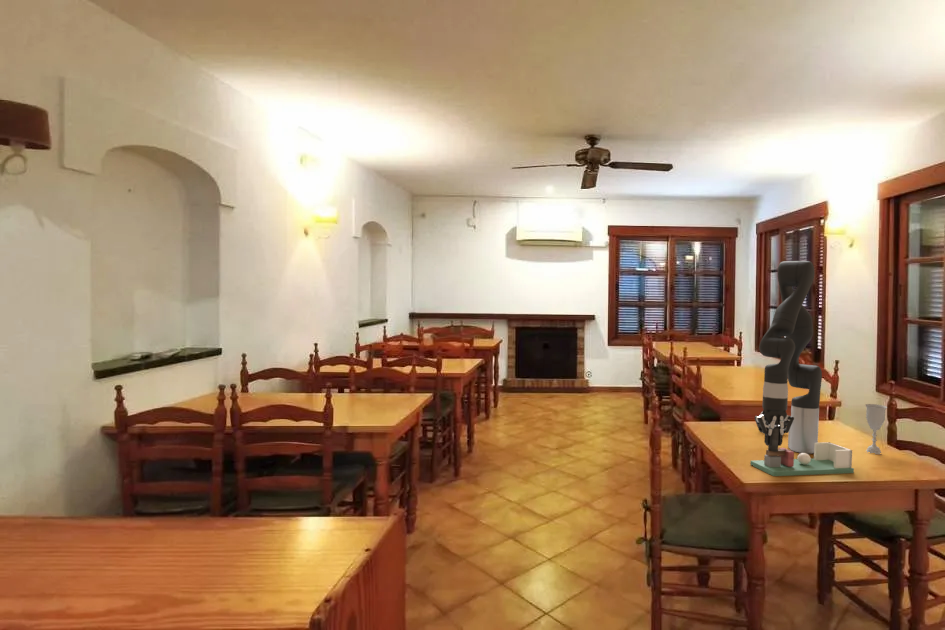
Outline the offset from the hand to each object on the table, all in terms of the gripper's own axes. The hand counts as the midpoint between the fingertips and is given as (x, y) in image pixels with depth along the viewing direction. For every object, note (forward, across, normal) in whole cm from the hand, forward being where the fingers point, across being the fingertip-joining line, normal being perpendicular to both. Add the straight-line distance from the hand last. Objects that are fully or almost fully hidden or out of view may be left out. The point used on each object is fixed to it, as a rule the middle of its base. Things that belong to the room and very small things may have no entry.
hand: (773, 445), depth 193 cm
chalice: (+9, -54, -15) cm, 57 cm away
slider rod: (+7, -2, 0) cm, 7 cm away
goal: (+7, -23, 0) cm, 24 cm away
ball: (+5, -12, 0) cm, 13 cm away
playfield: (+9, -11, 0) cm, 14 cm away
